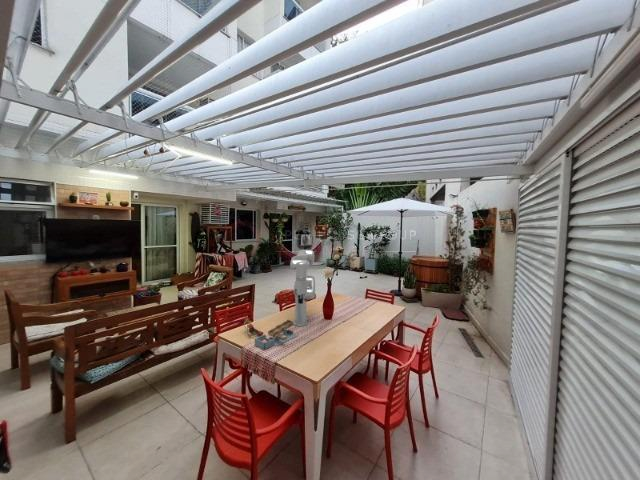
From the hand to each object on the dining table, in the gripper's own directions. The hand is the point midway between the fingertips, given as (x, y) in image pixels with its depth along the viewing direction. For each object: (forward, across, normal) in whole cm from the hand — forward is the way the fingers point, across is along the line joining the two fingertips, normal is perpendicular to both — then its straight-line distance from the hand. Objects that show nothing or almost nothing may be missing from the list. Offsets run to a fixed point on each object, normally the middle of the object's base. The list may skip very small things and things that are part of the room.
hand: (300, 303), depth 184 cm
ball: (+26, +22, -13) cm, 37 cm away
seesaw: (+22, +6, -9) cm, 25 cm away
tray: (+29, +22, -13) cm, 38 cm away
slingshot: (+29, +18, -34) cm, 48 cm away
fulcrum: (+29, +6, -13) cm, 32 cm away
